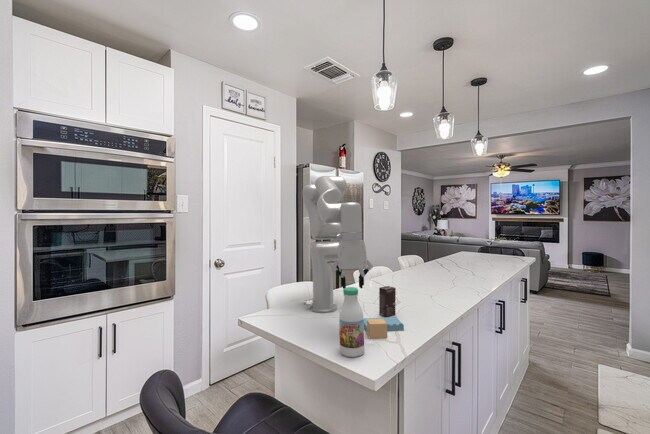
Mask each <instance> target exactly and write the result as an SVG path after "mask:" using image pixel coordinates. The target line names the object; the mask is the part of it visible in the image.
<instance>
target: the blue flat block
mask: <svg viewBox="0 0 650 434" xmlns="http://www.w3.org/2000/svg"><path fill="white" fill-rule="evenodd" d="M363 319H364V331H365V332H366V333H367V319H384V320H385V322H386V323H387V332H394V331H395V332H397V331H404V329H405V328H404V323H402V321H401V320H399V319H398V317H397V316H389V317H369V318H368V317H367V318H366V317H363Z"/></svg>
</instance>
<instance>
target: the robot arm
mask: <svg viewBox="0 0 650 434" xmlns="http://www.w3.org/2000/svg"><path fill="white" fill-rule="evenodd" d="M347 185H348V184H347V180H346V179H345V178H344V177H343V176H339V175H321V176H318V177H317V178H316V179H315V181H314V183H311V184H307V185H305V186H304V187H303V189H302V200H303V201H302V202H303V204H304V207H305V209H306V213H308V222H309V229H310V234H311V237H312V238H313V239H314V240H319V241H316V242H313V243H312V244H311V246H310V247H309V248H310V249H309V253H310V258H311V265H312V268H311V269H312V298H311V299H310V300H307V299H306V300H303V305H304V306H310V307H309V310H310V311H311V312H313V313H314V312H315V313H320V314H321V313H323V314H324V313H333V312H334V311H336V310H337V309H338V306H337V305H336V304H335V303H334V272H335V273H336V274H337V275H338V276H339V277H340V287H342V288H343V290H344V288H347V287H346V286H347V285H346V284H347V283H346V282H347V281H346V280H347V279H346V277H345V274H346V271H351V270H355V271H357V270H358V273H359V276H358V287H359V288H360V289H363V286H365V277H366V275H367V274H368V273H369V271H370V270H372V269H373V268H374V266H373V264H372V263H371V261H369V260H368V259H367V258H368V256H367V249H366V243H365V240H363V236H362V235H363V231H362V225H363V224H362V206H361V204H360V203H359V202H355V201H354V202H350V201H349V202H342V203H341V202H340V201H341V199H342V196H343V195H345V193H346V192H347V189H348V186H347ZM322 240H323V241H322ZM328 262H329V263H330V262H334V263H333V264H332V265H331V266H330V265H329V264H328ZM337 266H338V268H339V269H340V270H339V269H338V268H337ZM333 271H334V272H333Z"/></svg>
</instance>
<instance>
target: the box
mask: <svg viewBox="0 0 650 434" xmlns="http://www.w3.org/2000/svg"><path fill="white" fill-rule="evenodd" d="M378 293H379V295H378V296H379V297H378V299H379V301H378V302H379V303H378V304H379V305H378V307H379V311H378V313H379V316H380V317H382V318H384V317H394V316H395V315H396V287H394V286H390V285H387V286H382V287H379V292H378Z"/></svg>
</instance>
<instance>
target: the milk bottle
mask: <svg viewBox="0 0 650 434" xmlns="http://www.w3.org/2000/svg"><path fill="white" fill-rule="evenodd" d="M342 292H343V297H344V298H343V303H342V305H341V307H340V310H339V315H338V317H339V318H338V320H339V321H338V323H339V324H338V328H339V329H338V331H339V332H338V334H339V335H338V336H339V353H340V354H341V355H342V356H344V357H348V358H357V357H361V356H362V355H364V353H365V328H364V319H363V318H364V313H363V309H362V307H361V305H360V303H359V298H358V296H359V289H358V288H357V287H353V286H348V287H346V288H344V289H343V291H342Z"/></svg>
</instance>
